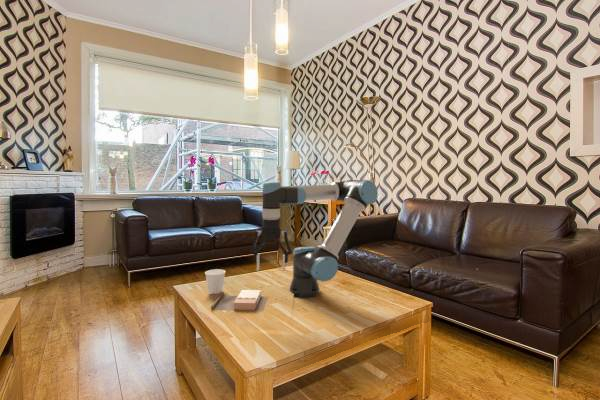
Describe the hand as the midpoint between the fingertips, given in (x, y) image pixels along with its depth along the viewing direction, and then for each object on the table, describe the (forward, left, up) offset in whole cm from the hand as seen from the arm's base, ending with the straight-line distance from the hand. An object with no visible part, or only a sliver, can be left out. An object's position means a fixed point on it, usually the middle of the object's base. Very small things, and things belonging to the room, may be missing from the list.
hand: (271, 270), depth 136 cm
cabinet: (+11, 0, -17) cm, 20 cm away
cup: (+30, -19, -18) cm, 40 cm away
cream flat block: (+11, -8, -17) cm, 22 cm away
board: (+14, -5, -18) cm, 23 cm away
